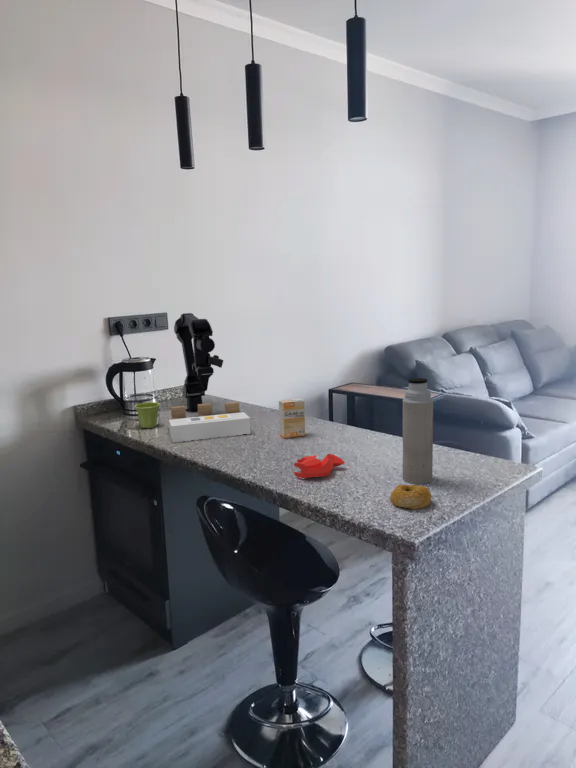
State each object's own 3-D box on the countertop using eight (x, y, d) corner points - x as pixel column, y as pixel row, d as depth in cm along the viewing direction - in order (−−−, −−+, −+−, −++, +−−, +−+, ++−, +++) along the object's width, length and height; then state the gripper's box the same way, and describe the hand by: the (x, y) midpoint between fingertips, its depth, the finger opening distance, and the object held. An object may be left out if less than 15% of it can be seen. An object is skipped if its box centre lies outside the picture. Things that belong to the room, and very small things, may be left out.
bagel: (431, 495, 146) (431, 477, 145) (431, 513, 136) (431, 494, 135) (392, 493, 149) (391, 476, 148) (388, 511, 138) (388, 492, 138)
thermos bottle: (431, 474, 161) (432, 375, 156) (433, 484, 153) (434, 381, 148) (402, 473, 162) (402, 376, 157) (402, 483, 155) (402, 381, 150)
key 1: (172, 427, 217) (170, 407, 216) (185, 426, 218) (184, 405, 217) (173, 429, 215) (171, 408, 213) (186, 427, 216) (185, 407, 215)
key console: (168, 430, 218) (166, 413, 217) (240, 422, 226) (239, 406, 225) (172, 442, 201) (171, 424, 200) (250, 434, 209) (249, 416, 208)
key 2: (225, 423, 220) (224, 403, 219) (238, 422, 221) (237, 401, 220) (227, 425, 218) (226, 404, 216) (240, 423, 219) (239, 403, 218)
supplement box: (283, 439, 201) (282, 402, 199) (279, 435, 206) (278, 399, 203) (305, 436, 204) (304, 400, 201) (301, 432, 208) (300, 397, 206)
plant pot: (165, 426, 224) (163, 405, 222) (141, 431, 219) (139, 408, 217) (156, 422, 232) (154, 401, 230) (133, 426, 226) (131, 404, 225)
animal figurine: (350, 471, 167) (351, 454, 166) (315, 484, 157) (315, 466, 156) (321, 462, 176) (321, 446, 175) (286, 474, 165) (285, 457, 165)
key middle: (198, 424, 220) (197, 404, 218) (211, 423, 221) (210, 403, 220) (199, 426, 217) (198, 405, 216) (213, 425, 219) (211, 404, 217)
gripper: (225, 351, 224) (227, 390, 226) (217, 347, 242) (219, 384, 244) (196, 353, 221) (199, 393, 223) (190, 349, 238) (193, 386, 241)
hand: (203, 389), depth 233 cm, fingers open, 9 cm apart
